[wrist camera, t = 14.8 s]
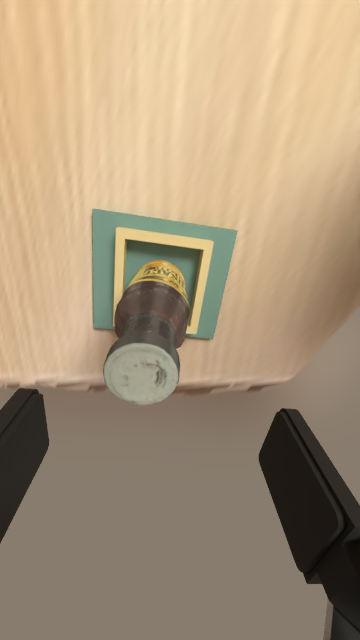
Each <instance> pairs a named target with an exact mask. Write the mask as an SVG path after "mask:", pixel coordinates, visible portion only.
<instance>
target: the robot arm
mask: <svg viewBox="0 0 360 640" xmlns="http://www.w3.org/2000/svg"><path fill="white" fill-rule="evenodd" d="M48 446H49V438H48V431H47V423H46V415H45V408H44V400H43V395H42V394H39V392H38V390H37V389H24V388H20V389H18V390H17V391H16V392H15V394H14V395H13V396H12V397H11V398H10V399H9V400H8V402H7V403H6V404H5V405H4V406H3V408H2V409H1V410H0V543H1V541H2V539H3V537H4V535H5V533H6V531H7V529H8V527H9V525H10V523H11V521H12V519H13V517H14V515H15V513H16V511H17V509H18V507H19V505H20V503H21V501H22V499H23V497H24V495H25V493H26V491H27V489H28V487H29V485H30V484H31V482H32V480H33V478H34V476H35V474H36V472H37V470H38V468H39V466H40V464H41V462H42V460H43V458H44V456H45V454H46V452H47V449H48ZM259 463H260V466H261V468H262V471H263V474H264V477H265V480H266V482H267V485H268V488H269V491H270V493H271V496H272V499H273V502H274V505H275V507H276V510H277V513H278V516H279V518H280V521H281V524H282V526H283V530H284V533H285V535H286V538H287V541H288V544H289V546H290V549H291V552H292V555H293V558H294V560H295V563H296V565H297V567H298V569H299V570H300V571H301V572H303V574H304V577H305V580H306V583H307V584H322V585H323V587H324V589H325V592H326V594H327V597H328V599H327V608H326V617H325V625H324V634H323V640H360V505H359V504H358V502H357V501H356V499H355V498H354V496H353V494H352V493H351V491H350V490H349V488H348V487H347V485H346V484H345V482H344V481H343V479H342V477H341V476H340V474H339V473H338V471H337V470H336V468H335V467H334V465H333V463H332V462H331V460H330V459H329V457H328V456H327V454H326V453H325V451H324V450H323V448H322V447H321V445H320V443H319V442H318V440H317V439H316V437H315V436H314V434H313V433H312V431H311V429H310V428H309V426H308V425H307V423H306V422H305V420H304V419H303V417H302V416H301V414H300V412H299V411H298V410H296V409H284V408H282V409H281V410H280V411H279V412H277V413H276V415H275V417H274V420H273V422H272V424H271V427H270V429H269V431H268V434H267V436H266V438H265V441H264V443H263V446H262V448H261V450H260V453H259Z"/></svg>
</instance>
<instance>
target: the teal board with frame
mask: <svg viewBox="0 0 360 640" xmlns="http://www.w3.org/2000/svg"><path fill="white" fill-rule="evenodd" d="M236 235H237V231H236V230H230V229H223V228H217V227H210V226H204V225H197V224H190V223H184V222H177V221H171V220H164V219H157V218H151V217H144V216H138V215H131V214H125V213H118V212H111V211H105V210H98V209H93V317H94V328H104V329H114V330H115V324H114V317H115V311H116V307H117V304H118V302H119V301H120V300H121V298H122V295H123V293H124V292H125V290H126V288H127V287H128V285H129V284H130V282H131V281H132V279H133V278H134V276H135V275H136V274H137V272H138V271H139V269H140V268H141V267H142V266H143V265H145V264H146V263H148V262H151V261H154V260H164V261H167V262H170V263H172V264H174V265H175V266H176V267H177V268H178V269H179V270H180V271H181V273H182V275H183V277H184V280H185V285H186V291H187V296H188V302H189V308H190V318H189V322H188V326H187V330H186V334H185V336H187V337H197V338H208V339H213V337H214V332H215V328H216V323H217V319H218V315H219V310H220V306H221V301H222V297H223V292H224V288H225V283H226V279H227V275H228V270H229V266H230V261H231V257H232V252H233V248H234V243H235V239H236Z"/></svg>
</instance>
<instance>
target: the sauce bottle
mask: <svg viewBox="0 0 360 640" xmlns="http://www.w3.org/2000/svg"><path fill="white" fill-rule="evenodd" d="M189 318H190V308H189V302H188V296H187V291H186V285H185V280H184V277H183V275H182V273H181V271H180V270H179V269H178V268H177V267H176V266H175V265H174V264H172V263H170V262H167V261H164V260H154V261H151V262H148V263H146V264H145V265H143V266H142V267H141V268H140V269H139V271H138V272H137V274H136V275H135V276H134V278H133V279H132V281H131V282H130V284H129V285H128V287H127V288H126V290H125V292H124V293H123V295H122V298H121V300H120V301H119V302H118V304H117V307H116V311H115V317H114V324H115V331H116V334H117V336H118V337H119V340H117V341H116V342H115V343H114V345H113V346H112V347H111V349H110V351H109V353H108V355H107V358H106V360H105V363H104V368H103V376H104V380H105V384H106V385H107V387H108V389H109V390H110V391H111V392H112V393H113V394H114V395H115V396H116V397H118V398H119V399H122V400H124V401H126V402H129V403H131V404H136V405H148V404H151V403H156V402H160V401H162V400H164V399H165V398H167V397H168V396H169V395H170V394H171V393H172V392H173V391H174V390H175V387H176V385H177V384H178V381H179V371H180V361H179V355H178V352H177V350H176V349H177V348H179V347H181V345H182V344H183V341H184V338H185V334H186V330H187V326H188V322H189Z"/></svg>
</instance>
